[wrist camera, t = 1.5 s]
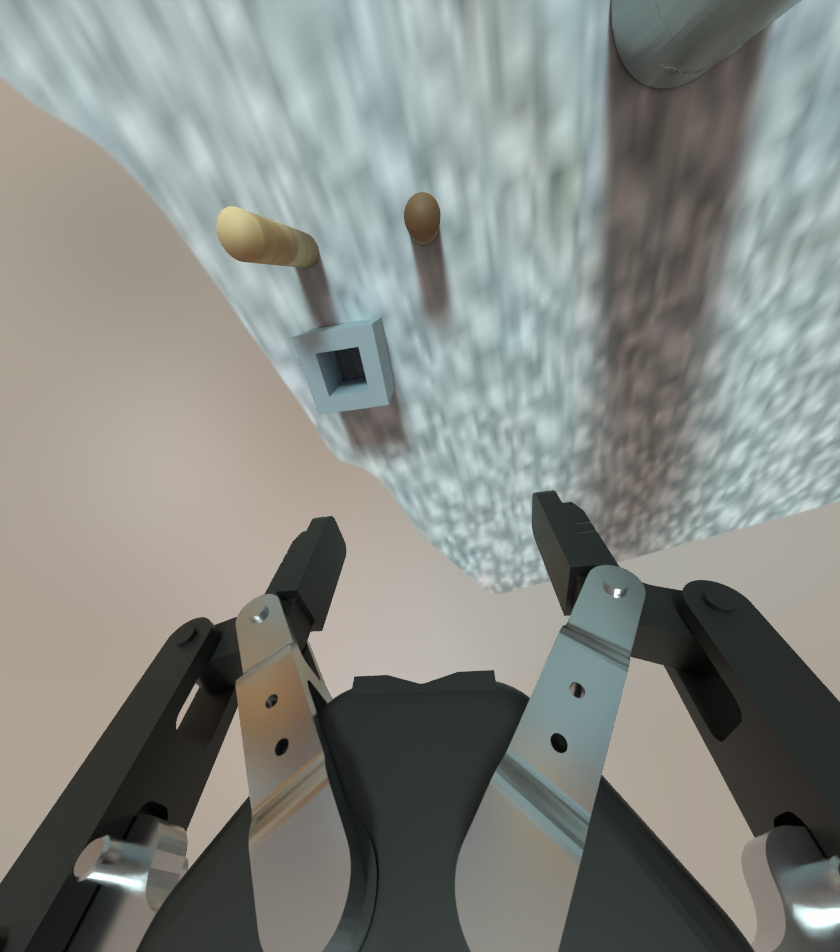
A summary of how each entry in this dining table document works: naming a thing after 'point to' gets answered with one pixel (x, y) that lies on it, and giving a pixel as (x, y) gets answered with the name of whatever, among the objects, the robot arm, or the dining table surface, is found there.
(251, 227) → the long dowel
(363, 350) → the hole block
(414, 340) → the dining table surface
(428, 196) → the short dowel
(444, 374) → the dining table surface
